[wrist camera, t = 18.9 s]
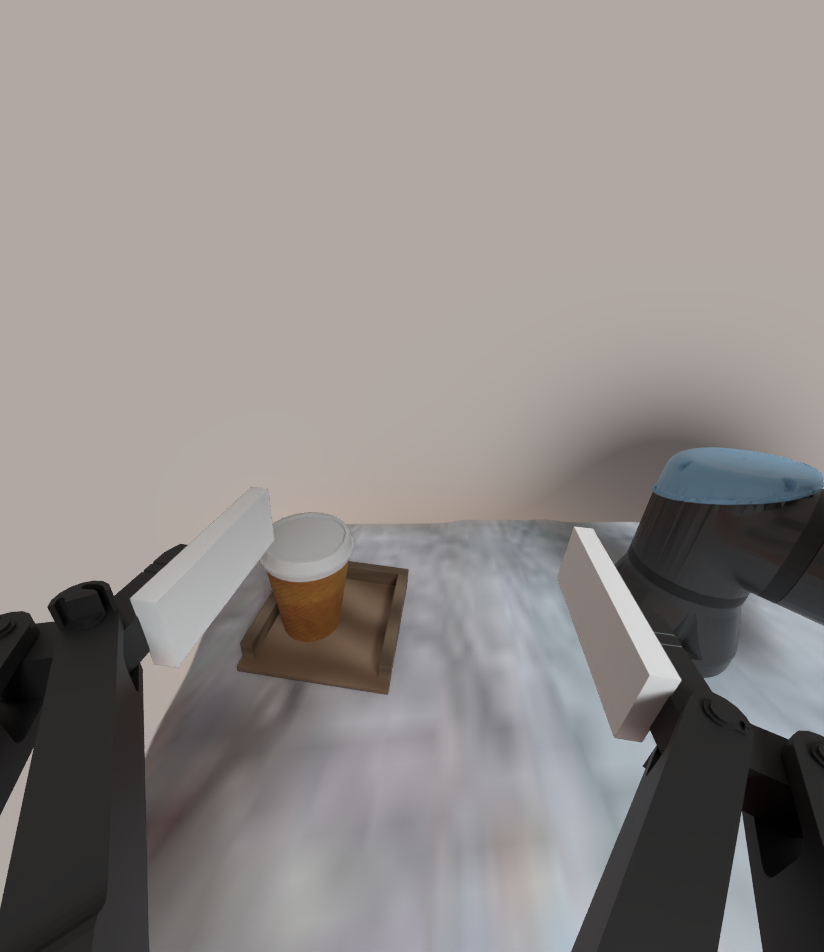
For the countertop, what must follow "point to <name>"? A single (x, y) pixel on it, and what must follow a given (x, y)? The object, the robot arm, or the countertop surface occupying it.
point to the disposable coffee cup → (309, 572)
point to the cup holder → (336, 636)
